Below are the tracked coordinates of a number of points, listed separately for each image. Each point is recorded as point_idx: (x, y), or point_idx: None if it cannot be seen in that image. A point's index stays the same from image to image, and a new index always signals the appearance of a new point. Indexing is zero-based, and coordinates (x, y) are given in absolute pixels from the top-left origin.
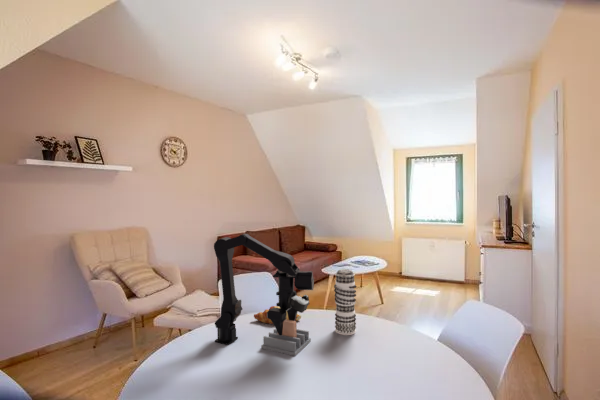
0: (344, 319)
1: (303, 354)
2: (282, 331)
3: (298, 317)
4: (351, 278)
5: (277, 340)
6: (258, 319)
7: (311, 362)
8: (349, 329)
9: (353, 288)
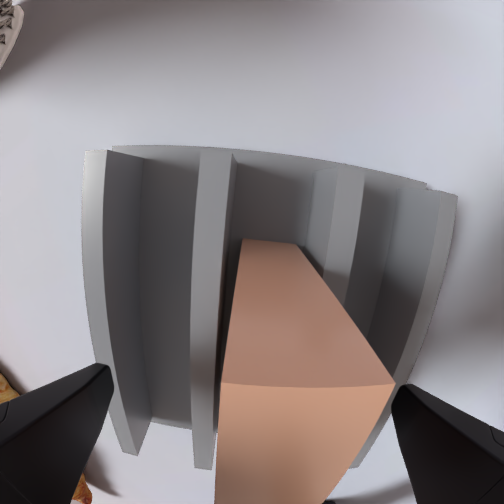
0: None
1: (376, 128)
2: (427, 403)
3: None
4: None
5: (402, 378)
6: (86, 486)
7: (440, 67)
8: (6, 2)
9: None
